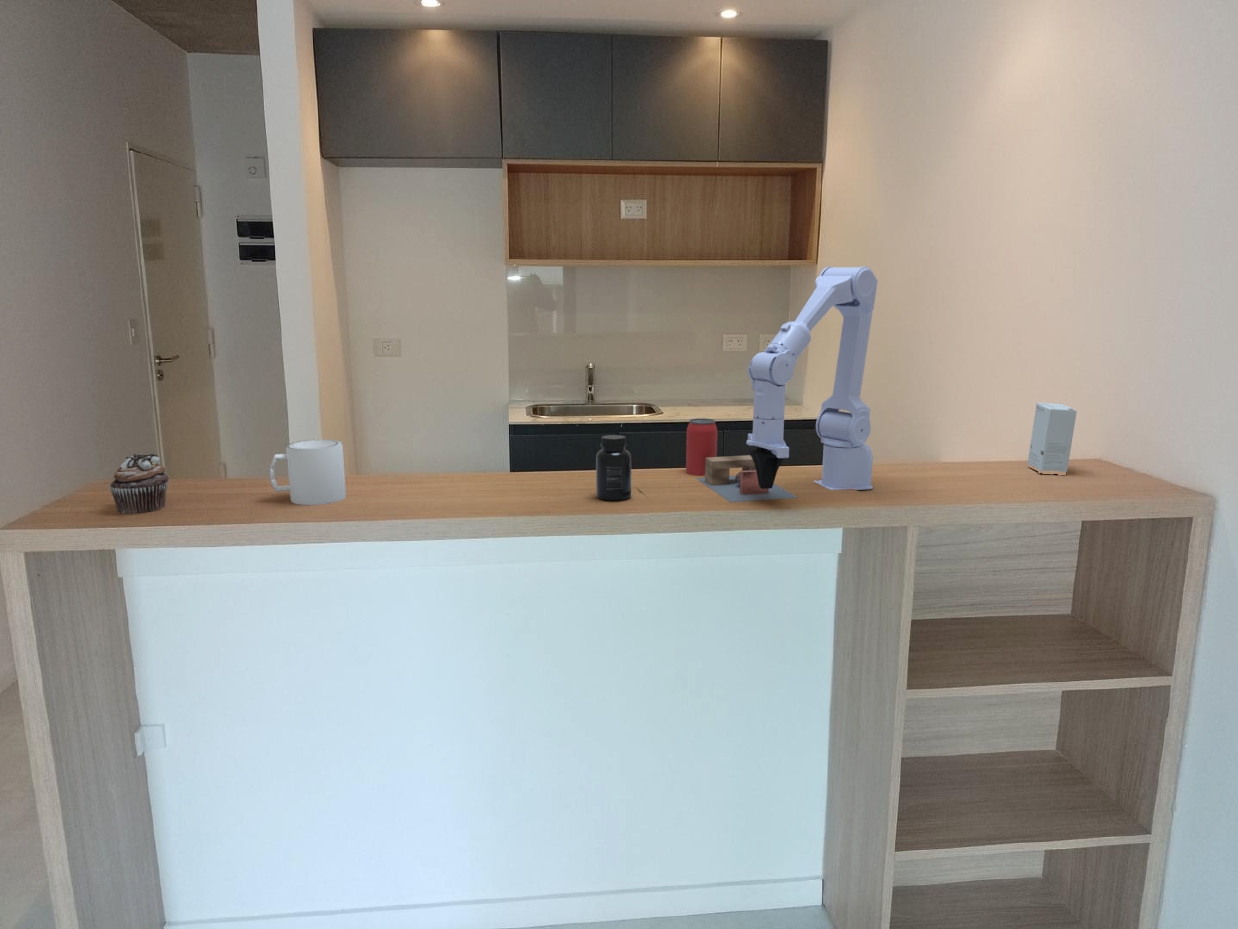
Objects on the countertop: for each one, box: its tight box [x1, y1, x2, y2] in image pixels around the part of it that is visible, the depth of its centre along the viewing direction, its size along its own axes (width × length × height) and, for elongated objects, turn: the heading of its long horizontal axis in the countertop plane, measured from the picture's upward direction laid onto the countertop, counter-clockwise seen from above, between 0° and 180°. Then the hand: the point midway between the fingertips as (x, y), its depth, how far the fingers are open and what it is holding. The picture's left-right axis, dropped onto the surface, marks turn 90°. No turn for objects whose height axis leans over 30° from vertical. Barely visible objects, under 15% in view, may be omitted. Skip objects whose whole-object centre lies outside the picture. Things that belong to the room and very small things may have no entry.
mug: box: [269, 439, 347, 506], centre depth 166 cm, size 14×10×11 cm
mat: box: [695, 475, 799, 503], centre depth 175 cm, size 14×20×1 cm
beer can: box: [685, 417, 718, 477], centre depth 187 cm, size 7×7×12 cm
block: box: [704, 454, 756, 486], centre depth 179 cm, size 12×4×5 cm, turn 104°
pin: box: [735, 470, 769, 495], centre depth 172 cm, size 7×6×4 cm
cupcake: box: [108, 453, 169, 515], centre depth 160 cm, size 10×10×10 cm
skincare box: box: [1026, 402, 1077, 473], centre depth 191 cm, size 8×6×15 cm
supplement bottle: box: [595, 434, 632, 502], centre depth 168 cm, size 7×7×12 cm
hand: (765, 487), depth 164 cm, fingers closed
